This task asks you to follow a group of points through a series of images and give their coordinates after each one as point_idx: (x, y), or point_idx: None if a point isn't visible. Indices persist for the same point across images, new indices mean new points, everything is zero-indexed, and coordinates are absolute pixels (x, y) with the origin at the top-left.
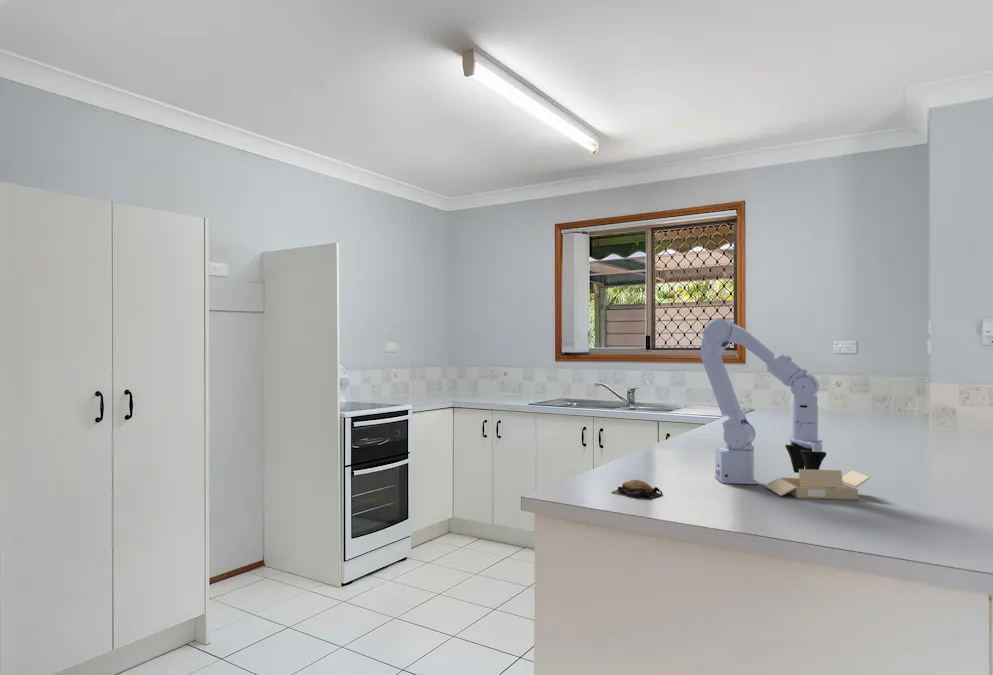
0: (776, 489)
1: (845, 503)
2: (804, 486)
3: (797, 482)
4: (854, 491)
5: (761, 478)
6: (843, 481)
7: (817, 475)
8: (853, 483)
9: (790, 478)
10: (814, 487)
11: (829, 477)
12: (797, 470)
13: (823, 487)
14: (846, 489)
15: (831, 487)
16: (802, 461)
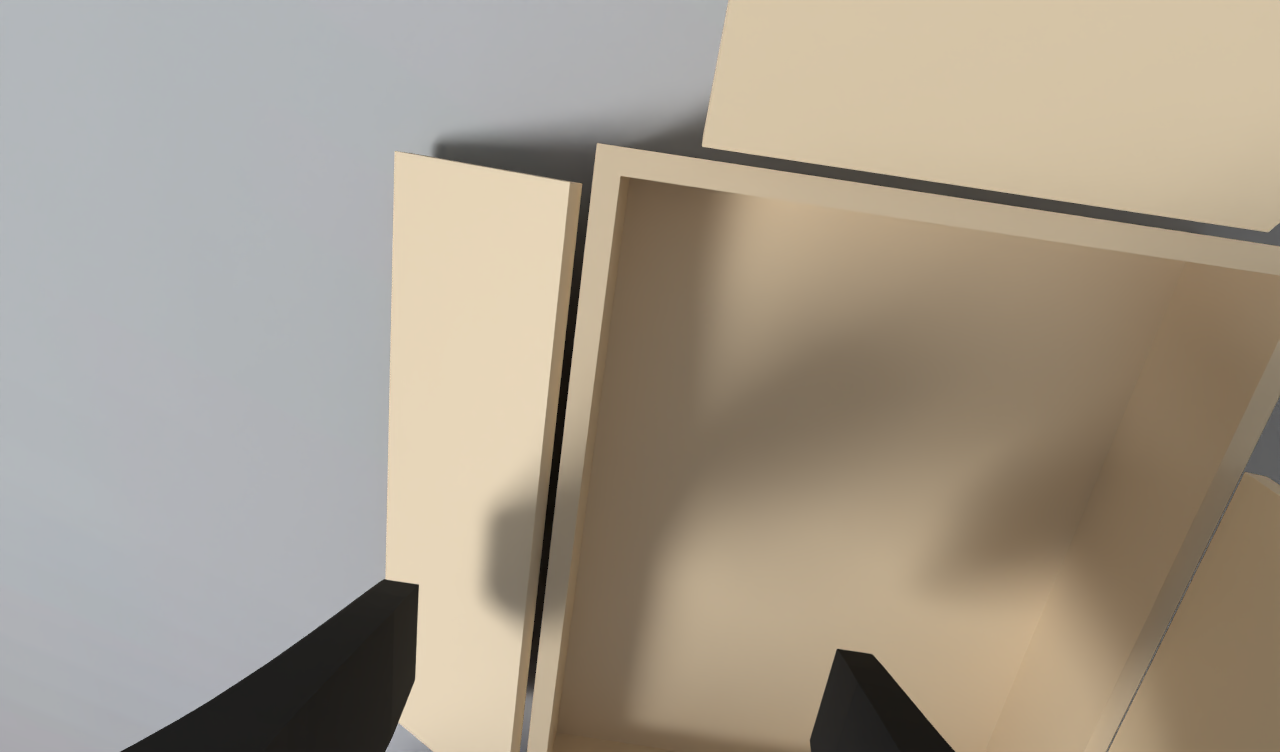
0: None
1: (1275, 481)
2: (580, 537)
3: (566, 636)
4: None
5: (107, 679)
6: (853, 166)
7: None
8: (1167, 176)
9: (546, 738)
10: (596, 428)
11: (1268, 728)
12: (400, 676)
13: (611, 325)
14: (1256, 417)
15: (623, 219)
16: (312, 734)
